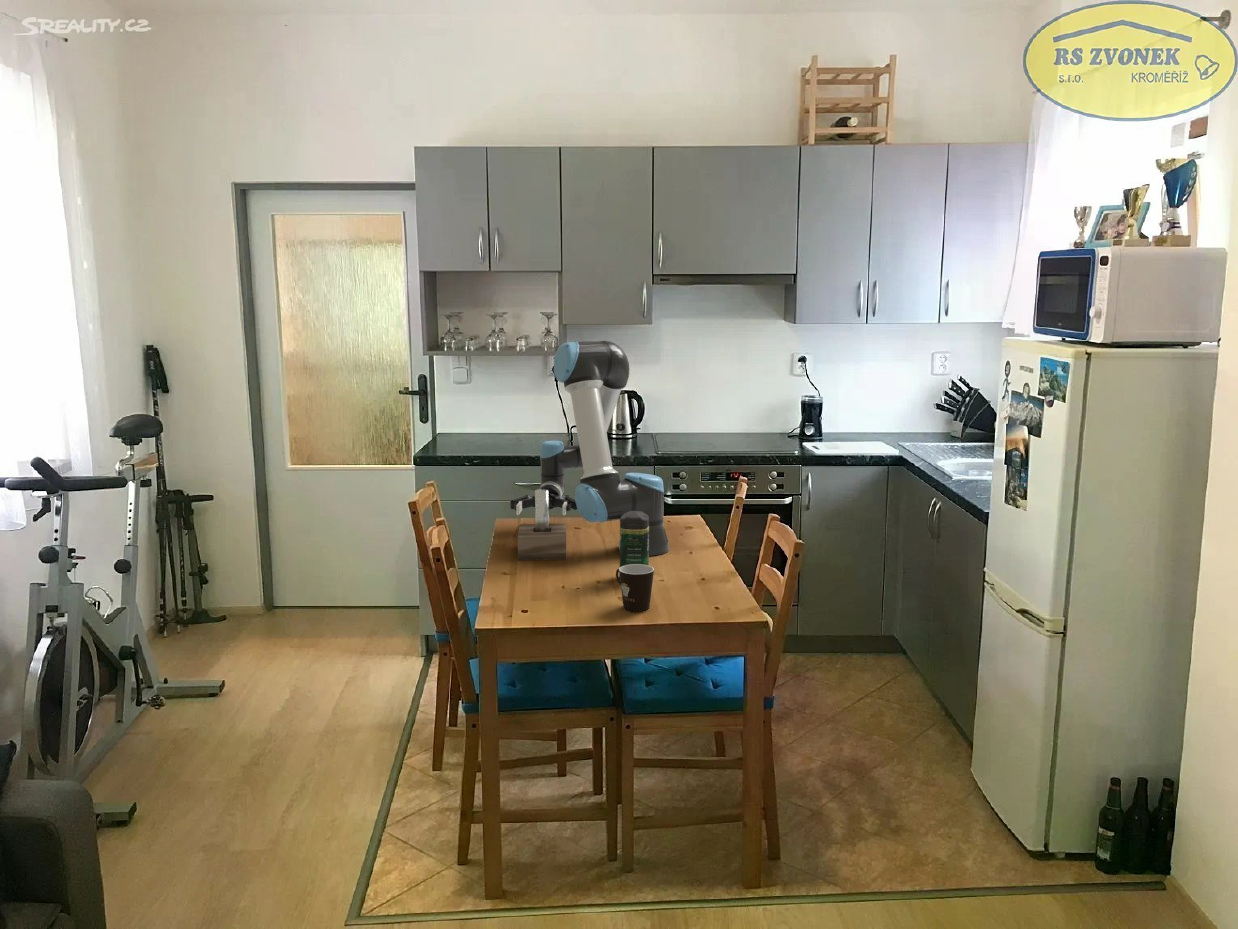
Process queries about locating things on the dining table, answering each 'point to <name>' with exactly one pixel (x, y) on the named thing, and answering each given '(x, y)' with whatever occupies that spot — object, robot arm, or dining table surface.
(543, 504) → the steel pin
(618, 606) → the dining table surface
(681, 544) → the dining table surface
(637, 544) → the coffee jar
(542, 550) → the socket block
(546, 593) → the dining table surface
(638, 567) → the coffee mug
